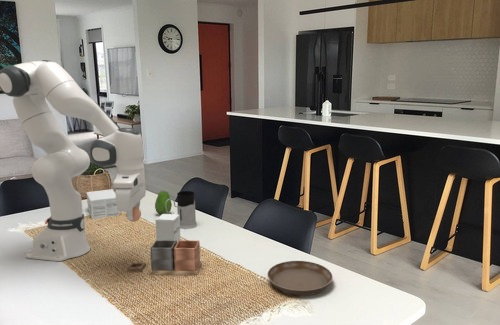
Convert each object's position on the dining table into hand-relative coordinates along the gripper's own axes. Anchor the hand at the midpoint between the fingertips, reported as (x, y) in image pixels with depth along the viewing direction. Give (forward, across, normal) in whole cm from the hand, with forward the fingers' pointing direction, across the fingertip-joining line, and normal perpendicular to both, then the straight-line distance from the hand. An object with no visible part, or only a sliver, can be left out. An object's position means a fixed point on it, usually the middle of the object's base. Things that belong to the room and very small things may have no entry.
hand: (133, 216), depth 150 cm
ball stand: (+19, 0, 0) cm, 19 cm away
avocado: (+19, -60, -5) cm, 63 cm away
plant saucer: (+19, +9, +56) cm, 60 cm away
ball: (-1, 0, 0) cm, 1 cm away
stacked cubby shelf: (+19, 0, +14) cm, 24 cm away
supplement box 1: (+20, -63, -36) cm, 75 cm away
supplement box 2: (+19, -19, +7) cm, 28 cm away
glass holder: (+19, -43, +7) cm, 48 cm away
